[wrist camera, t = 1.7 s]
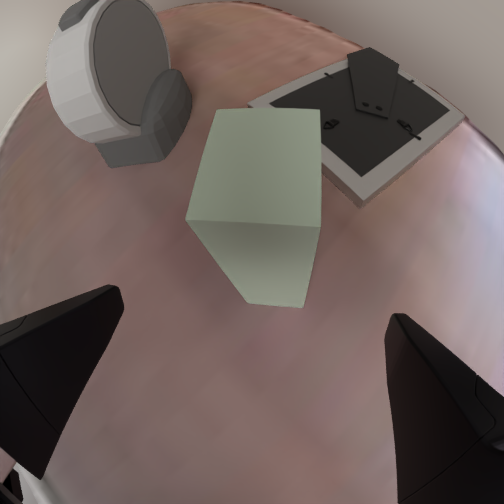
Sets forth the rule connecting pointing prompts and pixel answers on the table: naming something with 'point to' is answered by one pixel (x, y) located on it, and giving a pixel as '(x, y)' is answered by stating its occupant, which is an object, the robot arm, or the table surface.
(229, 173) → the pale green block
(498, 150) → the table surface
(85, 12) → the alarm clock
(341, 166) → the picture frame
